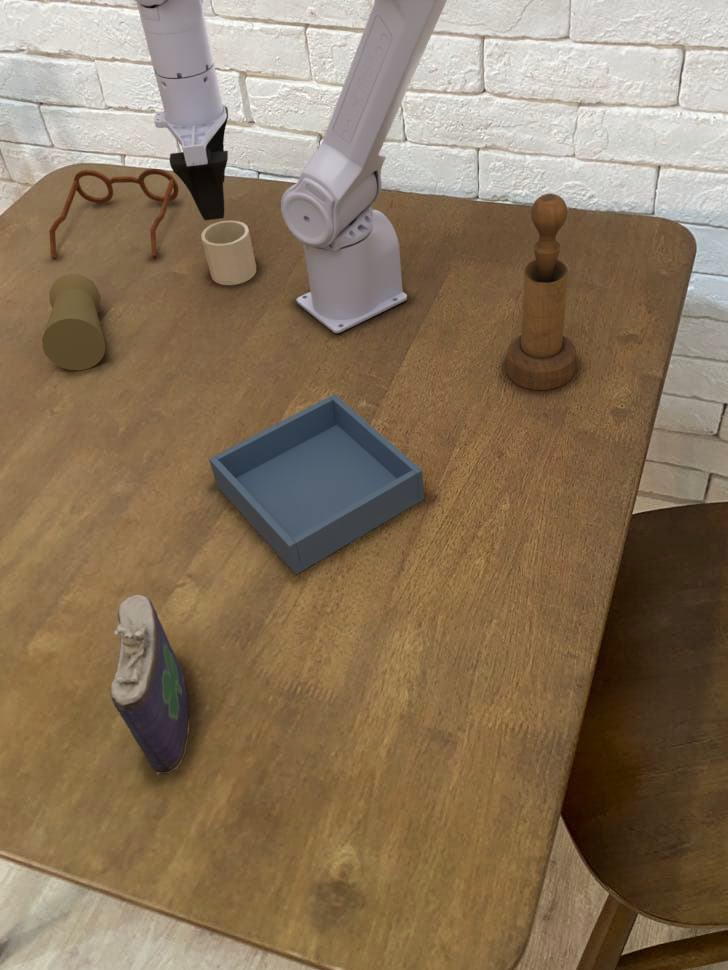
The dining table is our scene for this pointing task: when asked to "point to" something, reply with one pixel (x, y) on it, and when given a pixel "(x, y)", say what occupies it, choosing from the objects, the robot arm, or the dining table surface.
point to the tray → (317, 481)
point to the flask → (150, 686)
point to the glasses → (107, 198)
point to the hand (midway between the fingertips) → (214, 199)
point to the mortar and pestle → (543, 308)
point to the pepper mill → (74, 324)
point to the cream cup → (229, 252)
